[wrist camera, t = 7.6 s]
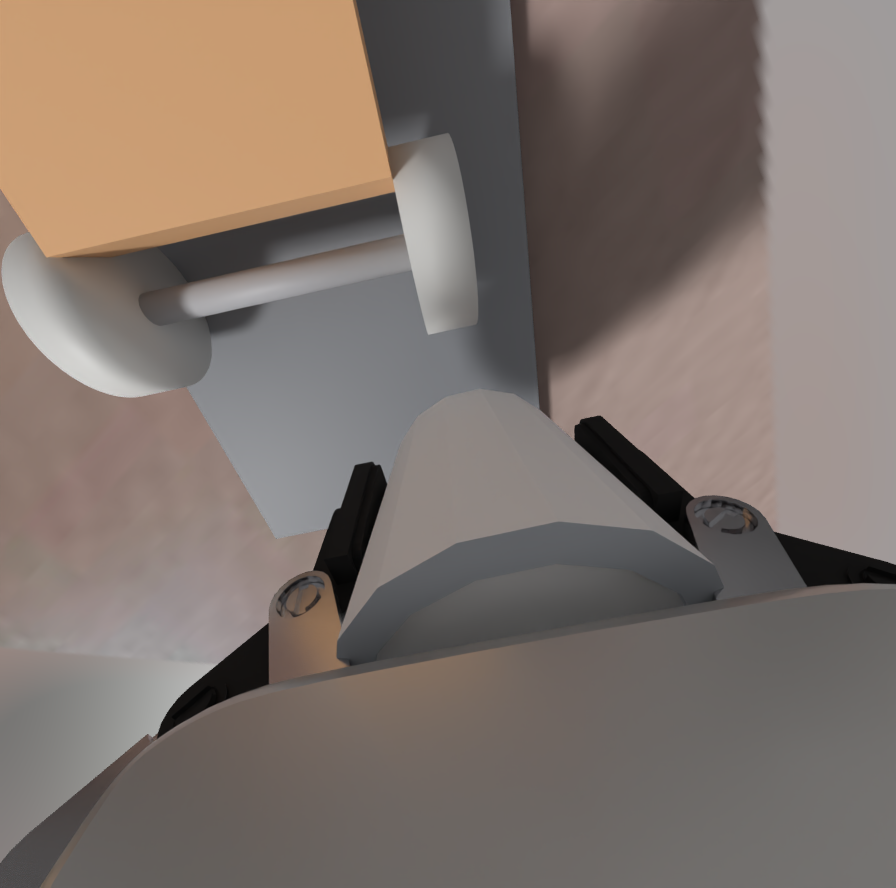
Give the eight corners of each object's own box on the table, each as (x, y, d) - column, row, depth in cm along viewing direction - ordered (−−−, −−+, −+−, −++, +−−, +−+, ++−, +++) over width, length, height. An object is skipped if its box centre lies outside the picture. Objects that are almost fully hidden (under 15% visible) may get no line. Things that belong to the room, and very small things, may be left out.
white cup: (356, 515, 13) (295, 754, 7) (416, 335, 10) (406, 464, 4) (521, 555, 14) (594, 779, 8) (614, 410, 11) (838, 589, 5)
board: (-333, -563, 7) (-448, -688, 6) (435, -826, 6) (436, -1009, 5) (282, 526, 20) (276, 538, 19) (539, 475, 19) (545, 486, 19)
